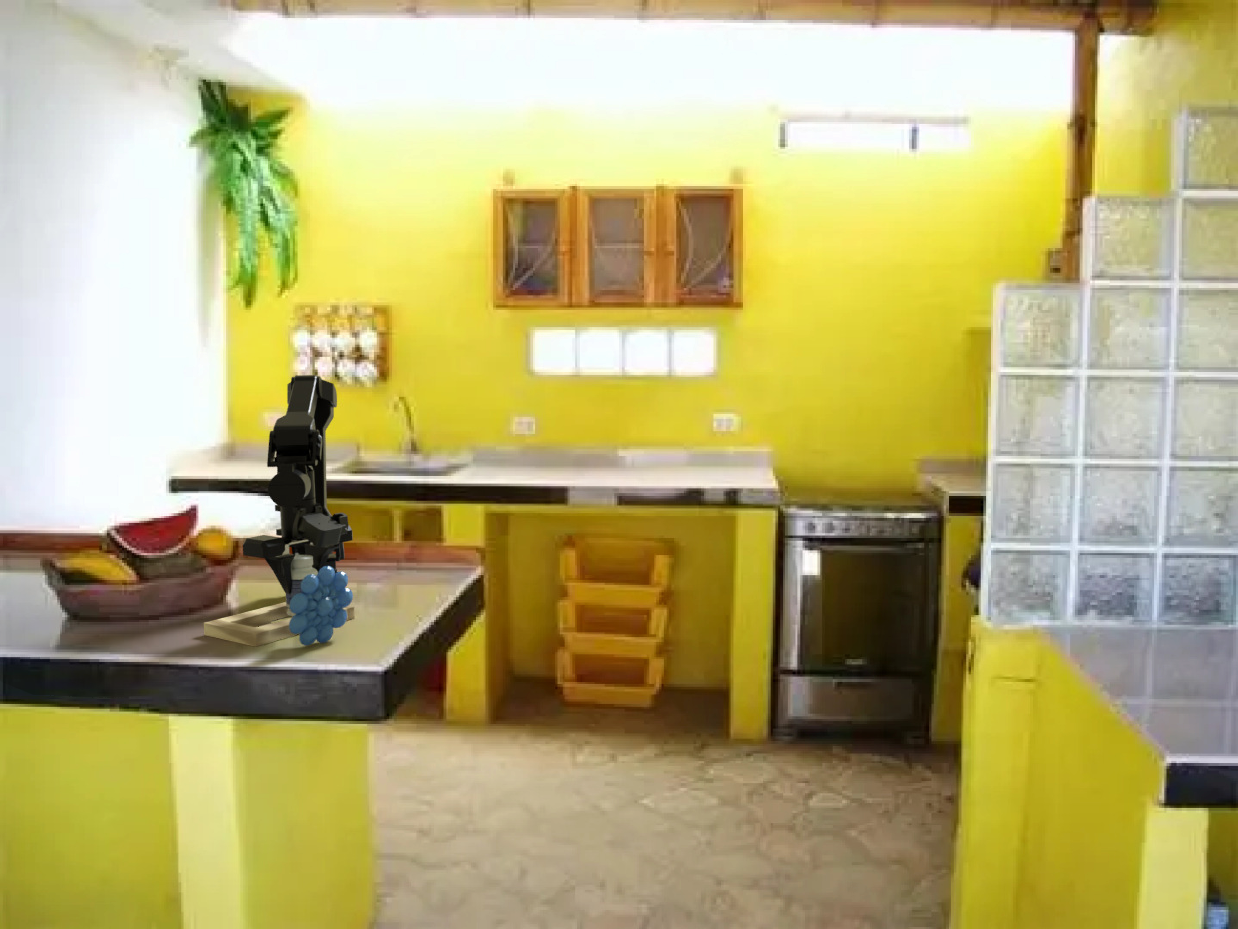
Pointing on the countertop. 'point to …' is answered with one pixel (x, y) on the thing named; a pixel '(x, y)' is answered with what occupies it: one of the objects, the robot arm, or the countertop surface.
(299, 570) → the pill bottle
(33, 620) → the countertop surface
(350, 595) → the blue ball flower
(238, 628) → the wooden frame
